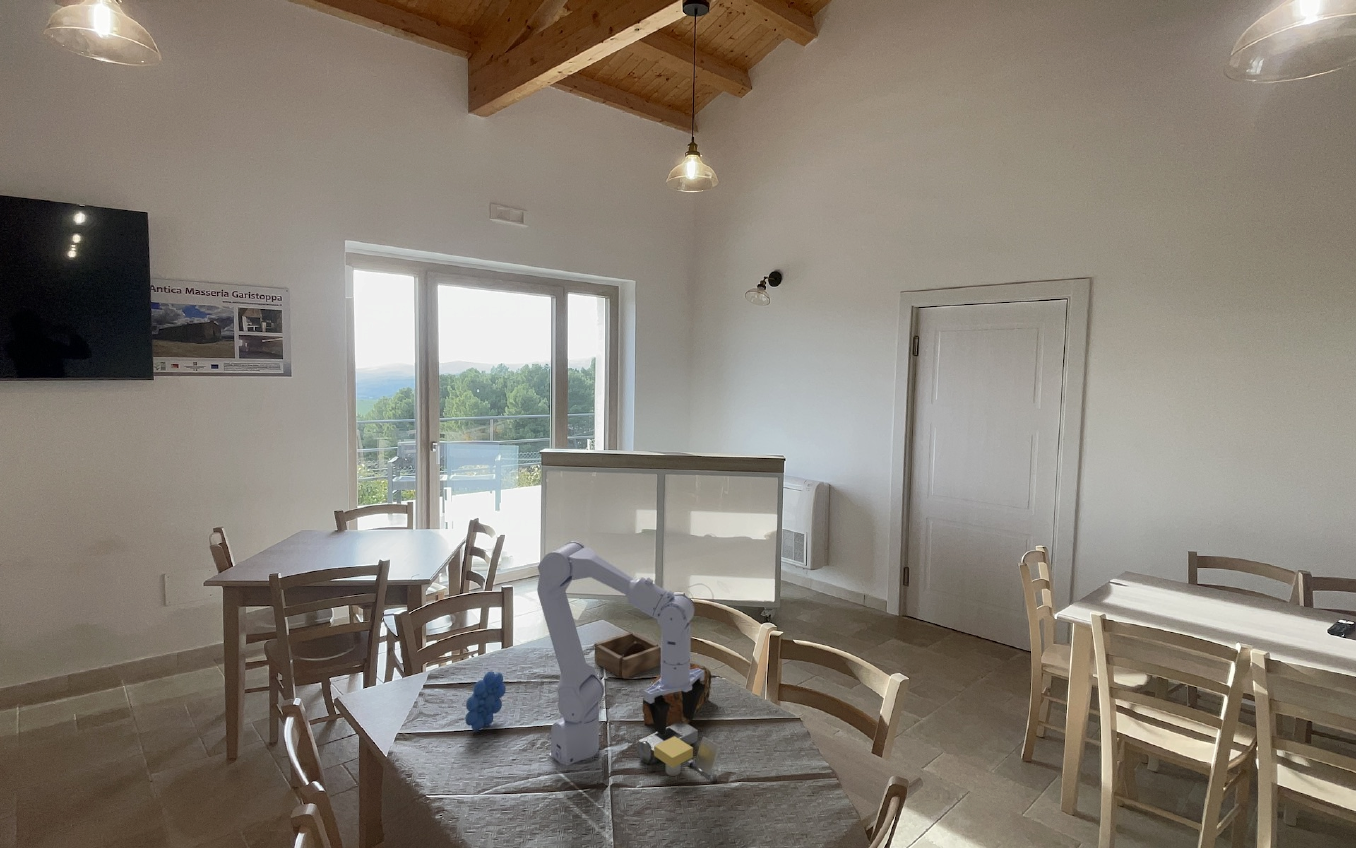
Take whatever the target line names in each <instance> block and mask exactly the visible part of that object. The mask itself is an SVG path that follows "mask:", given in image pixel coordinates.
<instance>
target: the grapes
mask: <svg viewBox="0 0 1356 848" xmlns="http://www.w3.org/2000/svg"><path fill="white" fill-rule="evenodd" d="M472 689H473V690H472V691H473V693H471V695H470V696H469V697H468V698H467V700H466V704H465V708H466V710H467V713H466V715H465V718H464V719H465V720H464V721H465V723H466V725H467V726H470V727H471V730H472V731H473V732H478V731H481V729H482V728H483V727H489V726H491V724H492V723H493V722H494V714H497V713H499V712H500V710H501V709H502V706H503V701H502V697H504V696H505V694H506V691H507V689H506V685H505V683H504V676H503V673H501V672H496V673H495V672H494V671H492V670H491V671H487V673H485V675H484V676H483V679H480V680H478V681H477V682H476V683H474V685H473V688H472Z"/></svg>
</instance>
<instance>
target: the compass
mask: <svg viewBox="0 0 1356 848" xmlns="http://www.w3.org/2000/svg"><path fill="white" fill-rule="evenodd" d="M642 651H645V647H644V645H643V644H641V643H640V642H634V643H631V644H630V645H629V646H628V647H627V648H626V650H625V652H624V654H621V655H620V656H622V657H623V658H625V657H628V656H631V655H633V654H636V653H639V652H642Z"/></svg>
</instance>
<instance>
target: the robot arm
mask: <svg viewBox="0 0 1356 848" xmlns="http://www.w3.org/2000/svg"><path fill="white" fill-rule="evenodd" d="M537 570H538V573H539V577H538V582H537V590H536V592H537V596H538V599H539V602H540V606H541V609H542V614H543V617H544V620H545V623H546V627H547V629H548V633H549V637H550V640H551V643H552V647H553V650H554V654H555V657H556V660H557V663H558V668H559V670H560V676H559V680H558V683H557V688H556V690H557V694H558V702H557V708H558V712H559V714H560V715H561V717H560V718H559V719H558V720H557V721H555V722H554V723H553V724H552V725H551V727H550V728H551V729H550V730H551V731H550V752H549V753H548V757H549V758H551V759H554V760H555V761H557V762H558V763H559V764H561V765H564V766H566V767H567V766H570V765H572V764H574V763H577V762H580V761H582V760H587V759H590V758H593V757H594V756H596V754H597V753H598V752H599V748H600V745H599V744H600V736H599V735H600V728H599V727H600V709H599V707H600V706H599V702H600V701H601V700H602V699H603V698H604V695H605V686H604V683H603V681H602V680H601V679H600V677H599V676H598V675H597V673H596V670H595V667H594V666H593V665H590V664H588V663H587V659H586V657H585V654H584V650H583V647H582V643H581V640H580V636H579V633H578V629H577V627H576V623H575V620H574V616H573V613H572V609H571V606H570V602H569V598H568V595H567V592H566V591H567V589H568V587H569V586H570V584H571V583H572V581H577V580H582V579H587V578H591V579H593V580H595V581H597V582H599V583H601V584H603V585H605V586H608V587H609V588H612V589H614V590H615V591H618V592H620V593H621V594H623V595H625V598H626V601H627V604H629V605H630V606H632V607H634V608H636V609H638V610H639V611H641V612H643V613H645V615H648V616H649V617H651V618H653V619H655V620H656V622H657V624H658V626H659V628H660V629H661V637H660V639H661V641H660V645H661V646H660V647H661V665H660V674H661V678H660V679H659V680H658V681H656V682H655V683H654V684H653V685H652V684H651V685H652V686H651V685H650V686H651V687H650V686H649V687H650V688H649V687H648V688H646V689H644V690H643V698H644V701H645V703H646V704H647V706H648V708H649V710H650V713H651V715H652V718H653V722H654V724H653V725H654V731H655V733H656V732H658V733H660V734H661V735H663V734H665V730H666V728H667V727H666V718H667V713H668V710H669V707H670V705H671V704H669V703H668V702H666V701H665V699H663V696H664V695H666V694H669V693H673V692H679V691H681V693H682V705H683V717H684V718H686V719H688V720H690V721H689V722H691V721H693V719H694V716H695V715H694V713H695V710H696V707H697V704H698V701H699V699H700V697H701V695H702V693H703V692H704V690H705V685H704V684H702V683H700V681H703V680H704V671H703V670H701V669H699V668H696V669H693V670H690V663H691V642H692V641H691V638H692V637H691V623H690V621H691V620H692V619H693V617H694V615H695V612H696V611H695V605H694V602H693V601H692V600H691V599H690V597H688V596H687V595H686V594H684V593H674V592H673V591H671V590H669V591H668V590H666V589H664V588H663V587H661V586H659V585H658V584H656V583H654V580H653V579H652V578H650V577H646V578H645V577H638V578H633V577H632V576H630V575H628V574H627V573H625V572H624V571H622V570H620V569H619V568H617V567H616V566H614V565H613V564H611V563H609V561H606V559H603V558H602V557H600V556H599V555H598V554H596V552H595V551H594V550H593V549H592V548H591V547H589V546H585V545H583V543H581V542H580V541H575V540H572V541H569V542H567V543H566V544H565V545H563V546H561V547H559V548H558V549H556V550H554V551H550V552H548V553H547V554H545V555H544V557H543V558H542V559H541V561H540V562H539V564H538V565H537ZM695 714H696V713H695Z"/></svg>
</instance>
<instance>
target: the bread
mask: <svg viewBox="0 0 1356 848" xmlns="http://www.w3.org/2000/svg"><path fill="white" fill-rule="evenodd" d="M696 668H699V669H701V670H703V671H704V680H703V681H700V683H702V684H704V685H705V690H704V692H703V693H702V695H701V697H700V699H699V701H698V704H697V707H696V710H695V713H694V716H695V714H696V713H697V712H698V711H699V710H700V708H701V707H703V705H704V703H706V701H709V699H710V697H711V696H710V695H711V694H710V693H711V689H712V686H711V684H712V673H711V671H710V669H709V668H708V667H706V666H703V665H700V664H697V663H696V664H695V663H693V662H690V670H693V669H696ZM660 678H661V673H660V674H659V675H658V676H657V677H656V678H654V679H653V680H652V683H651V685H650V686H649V687H648V688H650V687H651V686H652V685H653V684H654V683H655V682H656V681H658V680H659V679H660ZM642 699H643V700H642V708H641V710H642V713H643V715H642V716H643V717H642V718H643V723H644V724H645V725H647V726H651V725H654V722H653V718H652V715H651V713H650V710H649V708H648V706H647V704H646V703H645V701H644V697H642ZM663 699H665V701H666V702H668V703H669V704H671V705H670V707H669V710H668V713H667V718H666V728H667V727H669V726H671V725H673V724H675V723H677V722H680V721H683V722H685V723H687V724H688V725H689V723H690V722H691V721H690V720H688V719H686V718H684V717H683V705H682V693H681V691H679V692H673V693H669V694H666V695H664V696H663Z"/></svg>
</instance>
